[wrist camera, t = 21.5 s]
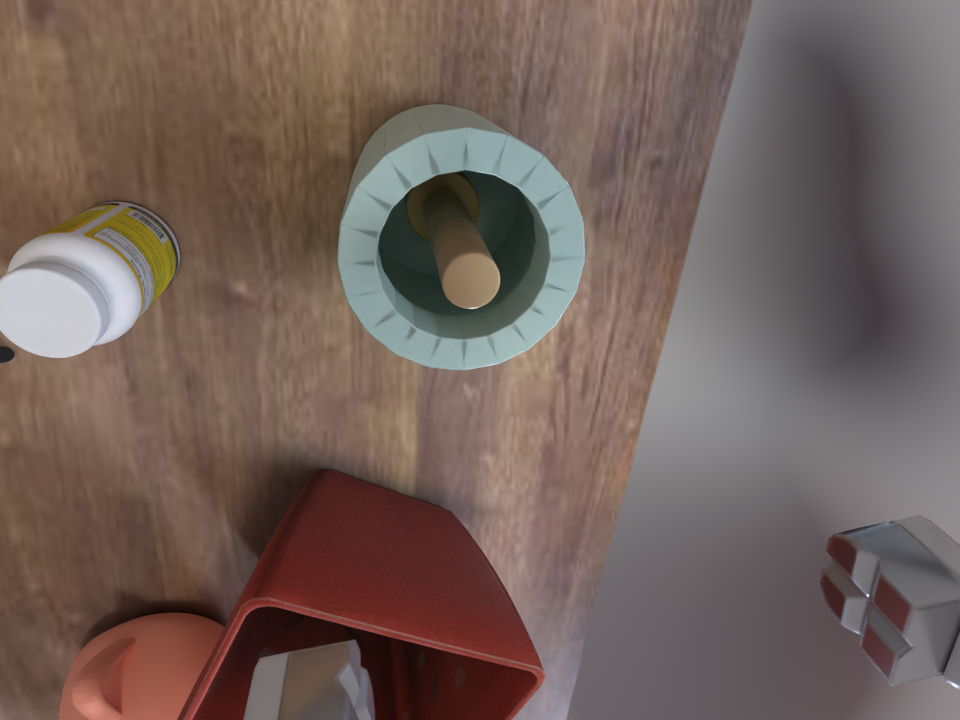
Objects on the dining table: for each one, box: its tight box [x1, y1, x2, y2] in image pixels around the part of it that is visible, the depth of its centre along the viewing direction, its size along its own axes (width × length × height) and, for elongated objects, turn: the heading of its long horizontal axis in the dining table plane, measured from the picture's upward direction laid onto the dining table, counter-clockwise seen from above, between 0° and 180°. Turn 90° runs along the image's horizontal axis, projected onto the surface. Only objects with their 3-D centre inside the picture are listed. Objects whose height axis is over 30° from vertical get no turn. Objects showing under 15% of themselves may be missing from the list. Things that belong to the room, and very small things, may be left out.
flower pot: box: [177, 469, 545, 720], centre depth 44 cm, size 19×19×17 cm
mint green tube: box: [337, 104, 585, 370], centre depth 33 cm, size 11×11×14 cm
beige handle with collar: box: [405, 171, 500, 309], centre depth 31 cm, size 4×4×16 cm
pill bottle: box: [0, 202, 180, 358], centre depth 33 cm, size 6×6×11 cm
